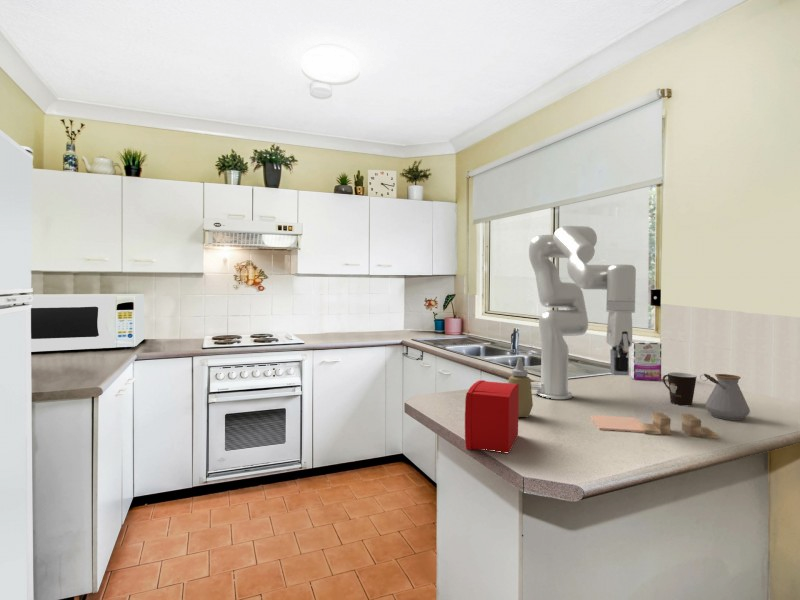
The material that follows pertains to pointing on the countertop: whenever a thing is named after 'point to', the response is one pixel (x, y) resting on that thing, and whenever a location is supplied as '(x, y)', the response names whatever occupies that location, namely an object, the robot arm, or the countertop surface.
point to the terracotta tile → (617, 423)
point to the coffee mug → (681, 387)
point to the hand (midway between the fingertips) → (619, 369)
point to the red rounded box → (491, 416)
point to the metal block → (613, 362)
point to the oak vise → (688, 425)
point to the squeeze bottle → (522, 388)
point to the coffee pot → (726, 398)
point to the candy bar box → (646, 361)
